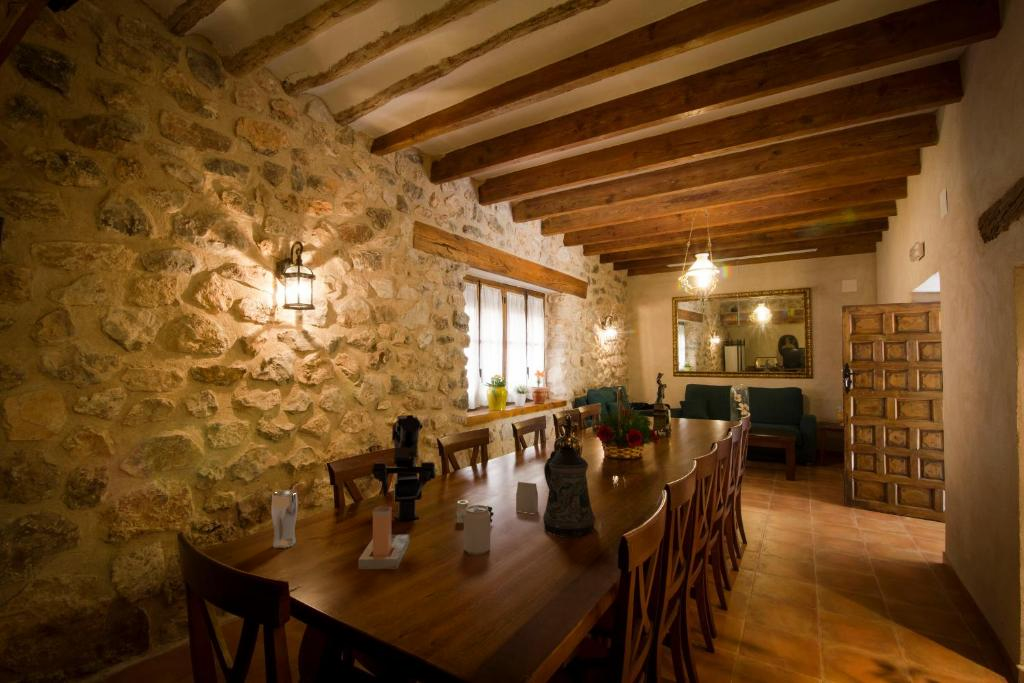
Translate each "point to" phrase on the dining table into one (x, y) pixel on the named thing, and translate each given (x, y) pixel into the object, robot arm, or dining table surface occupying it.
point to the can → (477, 529)
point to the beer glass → (284, 517)
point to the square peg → (382, 531)
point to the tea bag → (527, 497)
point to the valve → (462, 509)
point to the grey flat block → (385, 562)
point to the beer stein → (567, 495)
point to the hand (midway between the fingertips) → (400, 496)
